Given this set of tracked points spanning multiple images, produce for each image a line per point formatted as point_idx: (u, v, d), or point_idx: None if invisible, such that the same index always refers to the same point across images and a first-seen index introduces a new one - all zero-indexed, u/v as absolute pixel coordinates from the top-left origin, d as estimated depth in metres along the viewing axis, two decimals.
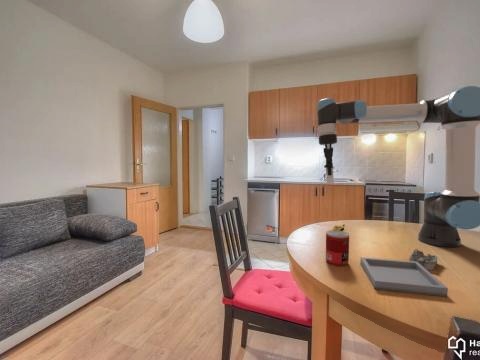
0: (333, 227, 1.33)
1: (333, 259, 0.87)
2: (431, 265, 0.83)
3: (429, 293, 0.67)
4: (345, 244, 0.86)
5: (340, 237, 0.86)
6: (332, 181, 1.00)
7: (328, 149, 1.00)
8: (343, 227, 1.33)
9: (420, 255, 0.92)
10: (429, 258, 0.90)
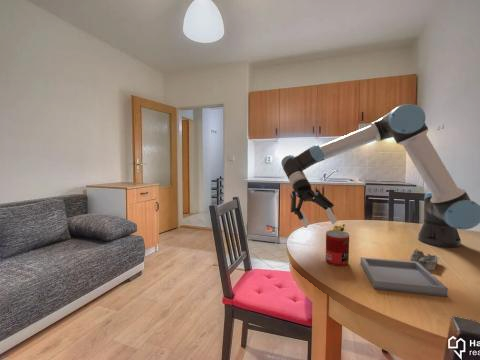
0: (333, 227, 1.33)
1: (333, 259, 0.87)
2: (432, 265, 0.83)
3: (429, 293, 0.67)
4: (344, 244, 0.86)
5: (340, 237, 0.86)
6: (306, 222, 0.94)
7: (292, 197, 1.03)
8: (343, 227, 1.33)
9: (420, 255, 0.92)
10: (429, 258, 0.90)
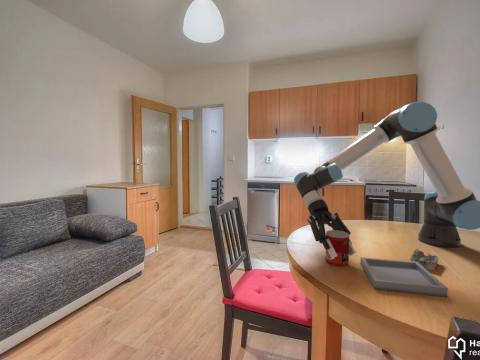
0: None
1: (333, 259, 0.87)
2: (432, 265, 0.83)
3: (429, 293, 0.67)
4: (345, 244, 0.86)
5: (340, 237, 0.86)
6: (334, 254, 0.85)
7: (311, 222, 0.93)
8: None
9: (420, 255, 0.92)
10: (429, 258, 0.90)
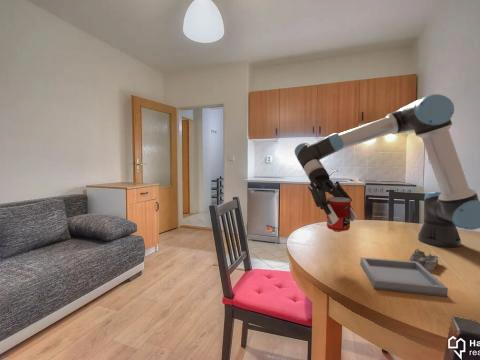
0: None
1: (334, 224, 0.86)
2: (432, 265, 0.83)
3: (429, 293, 0.67)
4: (346, 208, 0.85)
5: (341, 201, 0.85)
6: (335, 218, 0.84)
7: (312, 189, 0.92)
8: None
9: (421, 255, 0.92)
10: (430, 258, 0.90)
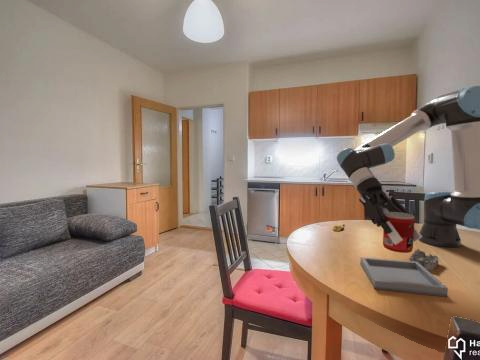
0: (333, 227, 1.33)
1: (396, 244, 0.74)
2: (431, 265, 0.83)
3: (429, 293, 0.67)
4: (410, 227, 0.72)
5: (405, 218, 0.72)
6: (398, 238, 0.71)
7: (365, 203, 0.80)
8: (343, 227, 1.33)
9: (422, 255, 0.92)
10: (430, 258, 0.90)
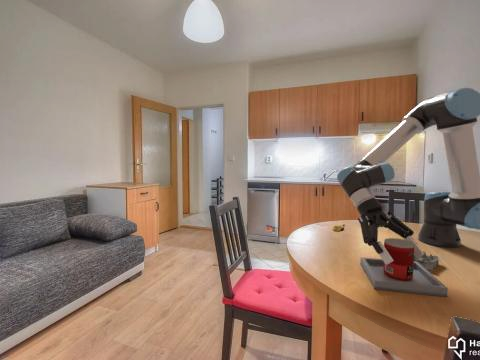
0: (333, 227, 1.33)
1: (396, 272, 0.74)
2: (430, 265, 0.83)
3: (429, 293, 0.67)
4: (410, 255, 0.73)
5: (405, 247, 0.73)
6: (389, 259, 0.72)
7: (362, 222, 0.81)
8: (343, 227, 1.33)
9: (422, 255, 0.92)
10: (430, 258, 0.89)
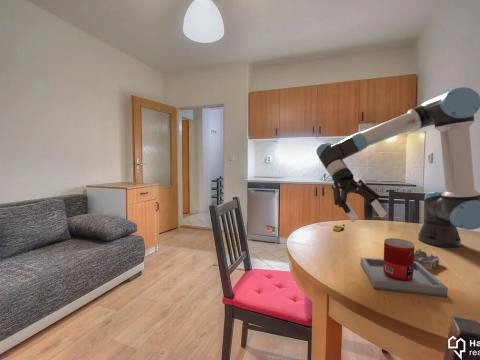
0: (333, 227, 1.33)
1: (396, 272, 0.74)
2: (429, 265, 0.83)
3: (429, 293, 0.67)
4: (410, 255, 0.73)
5: (405, 247, 0.73)
6: (354, 216, 0.84)
7: (334, 188, 0.92)
8: (343, 227, 1.33)
9: (423, 255, 0.92)
10: (431, 258, 0.89)
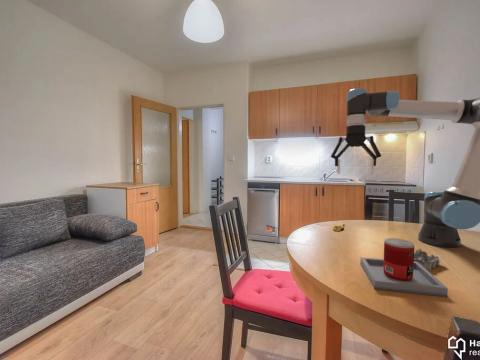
0: (333, 227, 1.33)
1: (396, 272, 0.74)
2: (428, 265, 0.83)
3: (429, 293, 0.67)
4: (410, 255, 0.73)
5: (405, 247, 0.73)
6: (337, 171, 1.09)
7: (338, 142, 1.09)
8: (343, 227, 1.33)
9: (424, 256, 0.92)
10: (431, 259, 0.89)
